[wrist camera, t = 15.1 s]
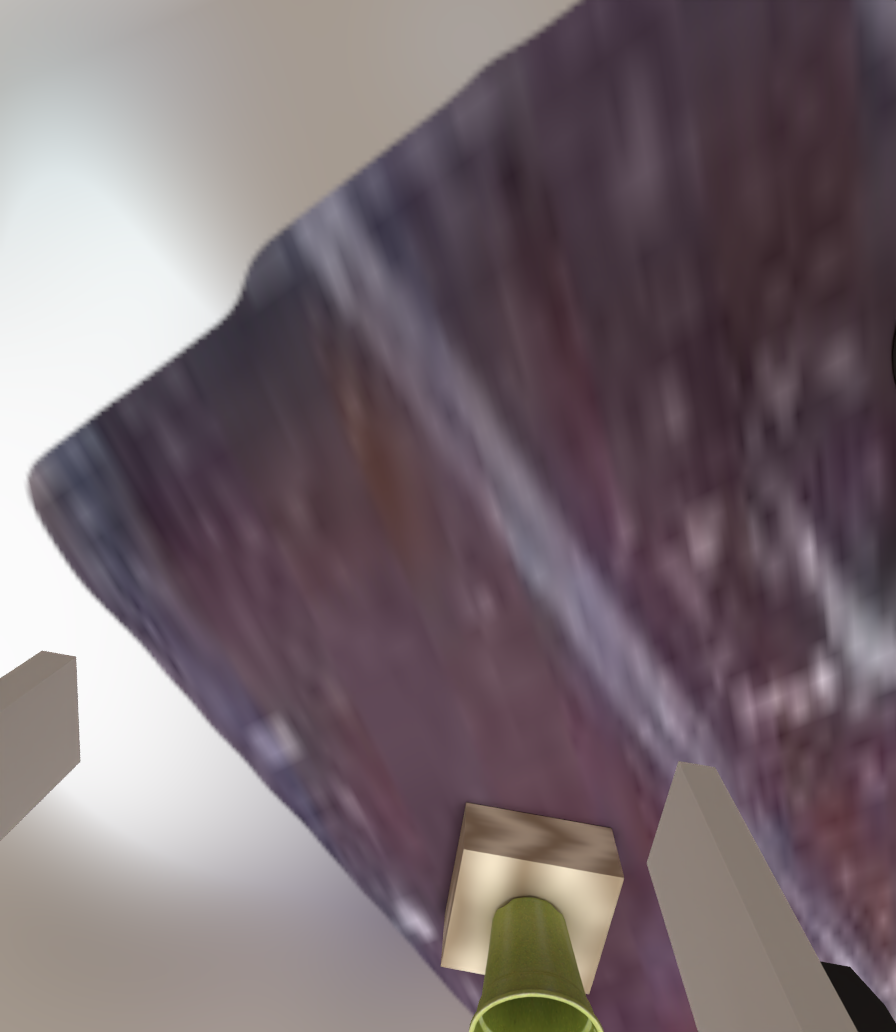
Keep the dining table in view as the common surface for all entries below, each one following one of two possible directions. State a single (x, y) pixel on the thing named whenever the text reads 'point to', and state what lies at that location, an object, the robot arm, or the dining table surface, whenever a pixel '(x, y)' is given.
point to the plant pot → (532, 974)
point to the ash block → (530, 882)
